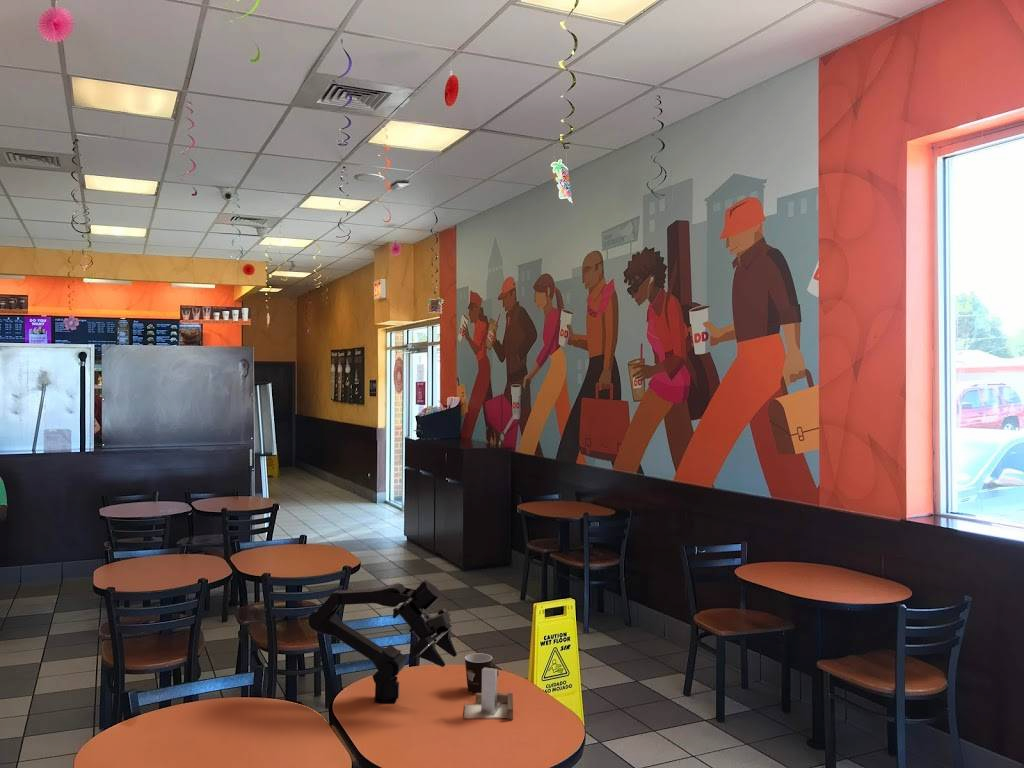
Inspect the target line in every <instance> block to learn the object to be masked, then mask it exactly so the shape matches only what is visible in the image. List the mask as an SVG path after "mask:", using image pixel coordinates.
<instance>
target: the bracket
mask: <svg viewBox="0 0 1024 768" xmlns="http://www.w3.org/2000/svg"><path fill="white" fill-rule="evenodd" d="M497 670H498V668H497V669H494V668H486V667H484V668H483V669H482V699H481V713H485V714H491V715H495V714H496V712H497V711H498V710H499V709H500V708H501V703H497V693H498V677H497Z"/></svg>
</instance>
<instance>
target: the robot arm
mask: <svg viewBox="0 0 1024 768" xmlns="http://www.w3.org/2000/svg"><path fill="white" fill-rule="evenodd" d="M441 597H442V596H441V592H440V590H439V589H438V587H436V586H435V585H434V584H432V583H431V582H428V580H426V579H424V580H423V581H422V582H421V583H420V585H419V586H417V588H416V589H415V588H410V587H407V586H405V585H404V584H403V583H398V582H397V583H393V584H387V585H385V586H381V587H377V588H368V589H366V588H365V589H348V590H347V589H346V590H345V589H344V590H343V589H338V590H335V591H334V592H331V594H330V595H329V597H328V598H327V599H326V600H325V602H324V603H322V605H321V606H319V608H318V609H316V610H314V611H313V612H312V613H310V615H308V618H307V619H308V620H307V622H308V627H309V628H310V629H311V630H312V631H314V632H317V633H320V634H323V635H328V636H333V637H334V638H336V639H337V640H339V641H341V642H342V643H343V644H345V645H347V646H348V647H350V648H351V649H352V650H354V651H355V652H357V653H359V654H361V655H362V656H364V657H365V658H367V659H368V660H369V661H371V662H372V665H374V667H375V668H376V670H377V671H376V672H375V673H374V674H373V675H372V680H373V682H374V683H375V687H374V688H375V689H374V700H373V702H378V703H377V704H380V703H379V702H388V704H394V703H397V700H398V699H399V697H400V681H399V680H398V678H399V677H398V675H399V674H400V672H401V671H402V670H403V669H404V667H405V665H406V659H405V655H404V654H403V653H401V652H402V650H401V649H397V648H396V647H394V646H393V645H392V644H388V645H387V646H386V647H384V646H380V645H379V644H378V643H376V642H374V641H373V640H371V639H369V638H368V637H366V636H365V635H363V634H361V633H360V632H359V631H357V630H355V629H353V628H352V627H350V626H349V625H348V624H346V623H344V622H343V621H342V620H341V617H340V616H339V614H337V611H338V610H339V609H340V607H341V606H346V605H364V604H365V605H366V604H375V605H379V606H382V607H390V608H393V609H392V610H393V612H392V613H393V614H392V619H397V618H398V617H400V618H401V619H403V621H404V622H405V624H407V626H408V627H409V628H410V629H409V630H408V632H409V633H410V634H412V633H414V635H415V636H416V637H417V638H418V641H416V642H415V643H414V644H413V645H412V647H410V653H411V654H412V655H413V656H414V657H417V658H421V659H424V660H426V661H429V662H430V663H433V664H435V665H437V666H440V667H441V668H444V667H446V662H445V661H444V659H443V658H442V657H441V654H439V652H438V650H437V649H436V646H438V647H439V648H440V649H441V650H443V651H444V652H446V653H447V654H449V655H450V656H452V657H453V658H455V657H457V651H456V649H455V648H456V647H454V644H453V641H452V639H451V632H452V624H450V623H451V622H452V621H451V618H450V616H451V613H450V612H449V610H447V609H446V608H441V609H440V610H438V611H437V614H436V615H435V616H432V615H430V614H425V613H424V611H423V610H428V609H429V608H430V607H431V606H432V605H434V603H436V602H437V601H438V600H439V599H440V598H441ZM410 599H411V600H410ZM407 601H409V602H407ZM399 605H400V606H399ZM397 606H399V607H397Z"/></svg>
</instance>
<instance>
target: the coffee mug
mask: <svg viewBox="0 0 1024 768" xmlns="http://www.w3.org/2000/svg"><path fill="white" fill-rule="evenodd" d="M464 664H465V673H466V683H467V684H466V686H467V691H468V692H469V693H470V692H471V694H474V693H482V669H483V668H484V667H486V668H494V669H497V678H498V676H499V669H498V668H497V667H496V666H494V665H493V656H492V655H490V654H487V653H479V652H476V653H469V654H467V655H465V656H464Z"/></svg>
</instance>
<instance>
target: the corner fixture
mask: <svg viewBox="0 0 1024 768" xmlns="http://www.w3.org/2000/svg"><path fill="white" fill-rule="evenodd" d="M481 699H482V693H476V694H475V703H465V705H464V713H463V719H486V720H487V719H488V720H489V719H490V720H491V719H493V720H495V719H498V720H499V718H500V720H501V718H507V719H506V720H507V721H513V720H514V694H513V693H511V692H507V693H505V692H497V703H501V708H500V709H499V710H498V711H497V712H496V714H495V715H491V714H485V713H481Z"/></svg>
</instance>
